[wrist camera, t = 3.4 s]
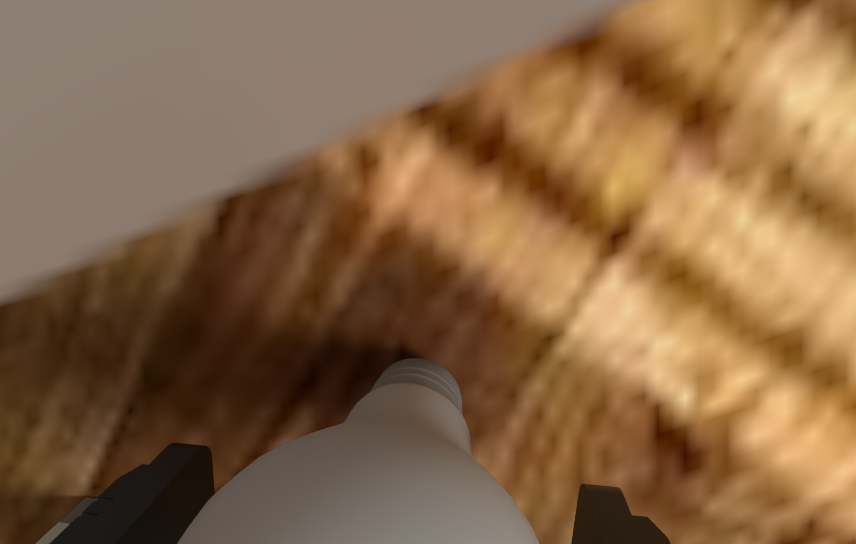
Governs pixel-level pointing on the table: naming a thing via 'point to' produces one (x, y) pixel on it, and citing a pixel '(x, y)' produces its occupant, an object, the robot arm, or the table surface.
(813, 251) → the table surface
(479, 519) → the lightbulb
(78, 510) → the tray
